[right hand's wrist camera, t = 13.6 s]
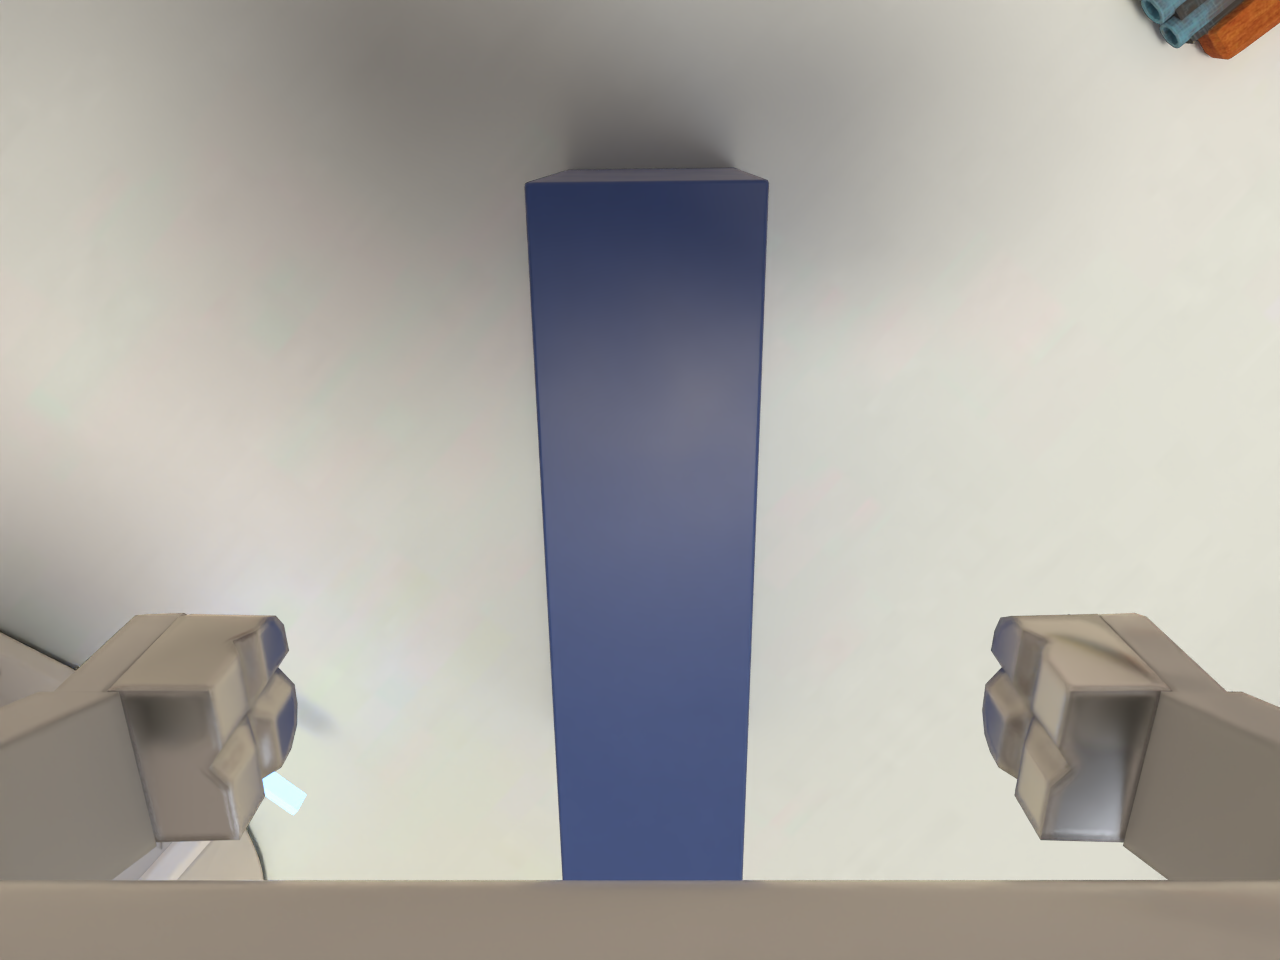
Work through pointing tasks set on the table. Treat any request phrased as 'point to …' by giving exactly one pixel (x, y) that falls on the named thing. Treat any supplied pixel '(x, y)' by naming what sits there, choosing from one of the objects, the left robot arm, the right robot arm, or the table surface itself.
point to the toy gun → (1214, 22)
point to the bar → (649, 507)
